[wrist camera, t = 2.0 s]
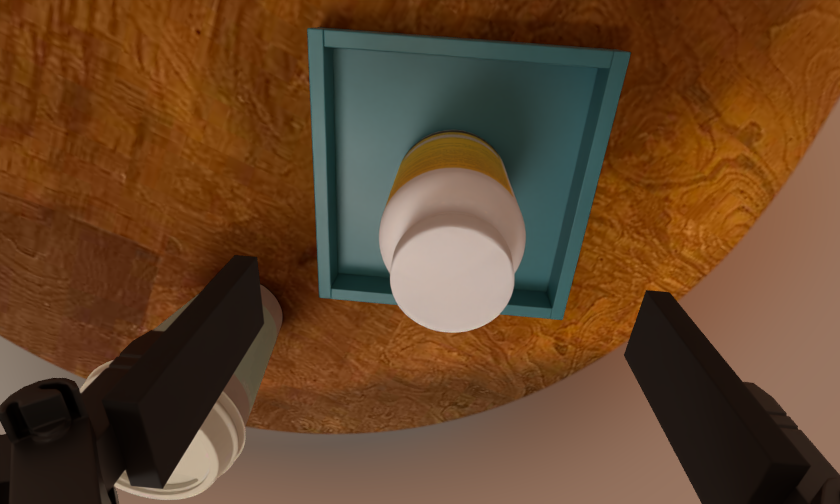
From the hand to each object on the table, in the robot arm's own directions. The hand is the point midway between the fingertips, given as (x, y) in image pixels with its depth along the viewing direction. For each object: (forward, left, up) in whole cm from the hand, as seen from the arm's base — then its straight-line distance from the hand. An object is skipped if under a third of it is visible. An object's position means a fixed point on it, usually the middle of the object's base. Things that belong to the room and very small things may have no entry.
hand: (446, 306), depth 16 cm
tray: (0, 0, -13) cm, 13 cm away
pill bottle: (0, 0, -13) cm, 13 cm away
